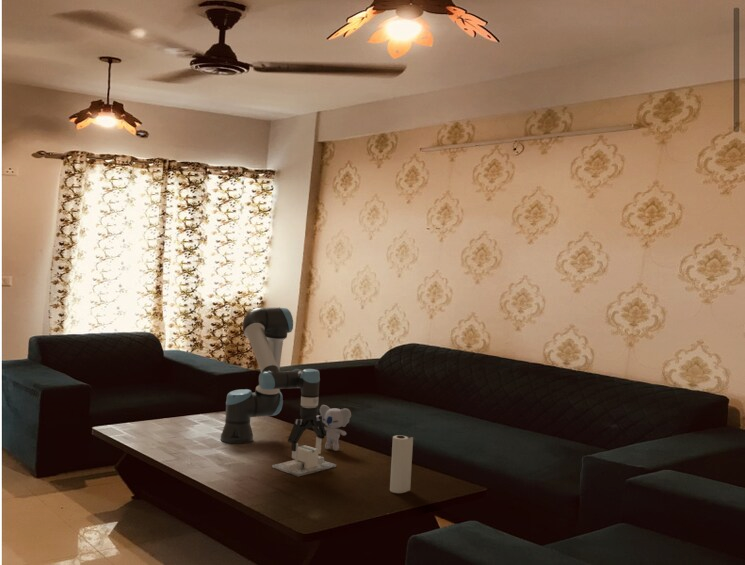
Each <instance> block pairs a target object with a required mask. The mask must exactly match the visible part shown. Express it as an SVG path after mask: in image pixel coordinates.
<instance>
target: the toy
mask: <svg viewBox="0 0 745 565" xmlns="http://www.w3.org/2000/svg"><path fill="white" fill-rule="evenodd" d="M318 412H319V414H320V416H322V422H323V424H324V428H325V431H326V436H325V439H326V442H325V445H324V448H325V449H326V450H330V449H332V450H333V451H336V452H337V451H339V450H340V444H339V439H340V437H341V436H343V437H344V436H346V435H347V432H346V431H345V430H344V429H341V427H343V428H344V427H346V426H347V424H349V423H350V420H351V419H350V418H351V417H352V412H351V410H350V409H349V408H345V407H344V408H341V409H340V408H336V407H335V408H331V407H329V406H328V405H326V404H321V406H320V407H319V408H318Z"/></svg>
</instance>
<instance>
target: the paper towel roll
mask: <svg viewBox="0 0 745 565" xmlns="http://www.w3.org/2000/svg"><path fill="white" fill-rule="evenodd" d="M391 445H392V447H391V461H390V462H391V463H390V479H389V480H390V481H389V491H390V492H391V493H394V494H403V493H404V494H405V493H407V492H409V491H411V484H412V483H411V481H412V464H413V463H412V461H413V446H414V437H413V436H411V437H409V436H407V435H401V434H400V435H399V434H398V435H397V434H396V435H392V444H391Z"/></svg>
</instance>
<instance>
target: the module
mask: <svg viewBox="0 0 745 565" xmlns="http://www.w3.org/2000/svg"><path fill="white" fill-rule="evenodd" d="M318 456H319V453H318V449H316V448H315V447H312V446H309V445H305V444H304V445H298V459H293V460H294V462H295V461H302V462H305V464H304V467H305V468H310V467H314V466H318Z"/></svg>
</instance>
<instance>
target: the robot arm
mask: <svg viewBox="0 0 745 565" xmlns="http://www.w3.org/2000/svg"><path fill="white" fill-rule="evenodd" d="M293 329H294V319H293V315H292V312H291V310H290V309H288V308H286V307H260V306H259V307H254V308H253V309H250V311H248V312H247V313H246V314H245V317H244V318H243V321H242V331H243V334H244V336H245V337H246V338H247V339H248V341H249V345H250V347H251V349H252V352H253V354H254V355H253V356H254V357H255V360H256V362H257V365H258V368H259V371H260V373H259V375H258V385H256V387H255V390H254V391H255V392H252V390H251V389H248V388H245V389H243V388H242V389H235V390H231V391H229V392H228V393H227V395H226V401H225V418H224V419H225V420H224V422H225V423H224V426H223V429H222V432H221V434H220V440H221V441H222V442H223V443H228V444H237V445H238V444H240V445H241V444H247V443H248V444H249V443H251V442H252V441H254V434H253V431H252V426H251V418H257V417H258V418H259V417H273V416H277V415H279V414H280V412H281V411H282V408H283V404H284V400H283V399H284V398H283V393H282V392H281V390H282V389H283V390H284V389H300V408H299V415H300V419H298V418H295V419H294V423H293V426H292V429H291V431H290V434H289V435H288V438H287V442H288V443H291V459H293V460H295V459H298V447H299V443H298V442H299V441H300V438H302V437H301V436H302V435H303V433H305V431H306V430H308V429H312V430H313V432H314V434H315V435H316V437H315V446H314V448H316V449H318V455H320V454H322V445H323V439H326V432H327V431H325V428H324V427H325V424H324V423H323V422H322V416H321V414H320V415H319V407H318V406H319V399H320V398H319V396H320V381H321V378H320V376H321V375H320V373H321V372H320V370H318V369H314V368H305V369H301V368H300V369H299V368H295V369H293V370H281V369H280V368H281V361H282V360H281V359H282V351H283V346H284V340H286V339H287V338H288V333H292V331H293Z"/></svg>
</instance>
